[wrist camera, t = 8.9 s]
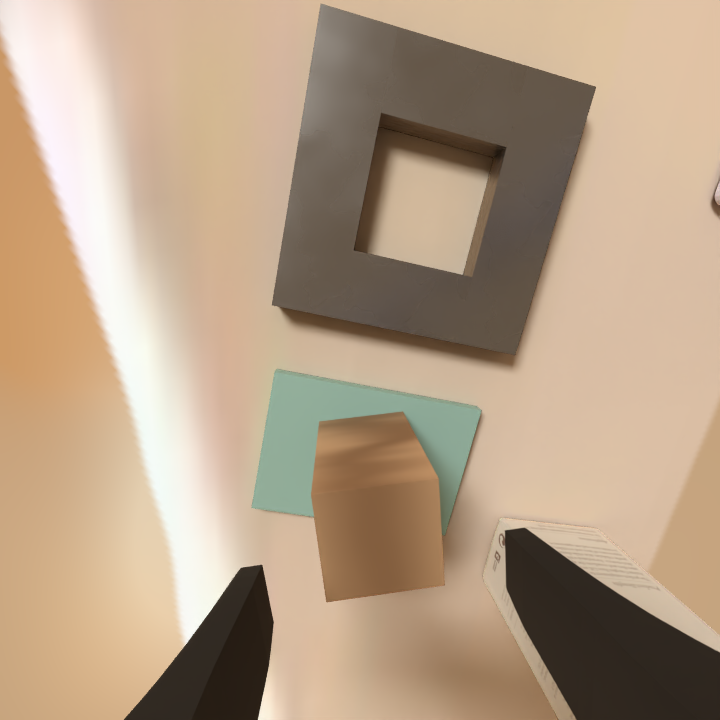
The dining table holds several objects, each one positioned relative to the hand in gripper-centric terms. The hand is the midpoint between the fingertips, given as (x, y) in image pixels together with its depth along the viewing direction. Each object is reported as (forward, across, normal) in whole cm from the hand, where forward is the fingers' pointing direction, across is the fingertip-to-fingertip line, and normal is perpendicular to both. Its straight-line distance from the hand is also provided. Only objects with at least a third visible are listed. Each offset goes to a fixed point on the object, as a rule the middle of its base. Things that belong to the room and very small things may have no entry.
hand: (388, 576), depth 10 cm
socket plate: (+8, -4, -11) cm, 14 cm away
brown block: (+7, 0, 0) cm, 7 cm away
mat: (+8, 0, 0) cm, 8 cm away
